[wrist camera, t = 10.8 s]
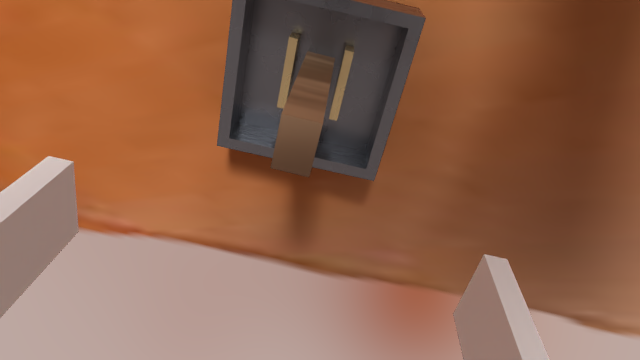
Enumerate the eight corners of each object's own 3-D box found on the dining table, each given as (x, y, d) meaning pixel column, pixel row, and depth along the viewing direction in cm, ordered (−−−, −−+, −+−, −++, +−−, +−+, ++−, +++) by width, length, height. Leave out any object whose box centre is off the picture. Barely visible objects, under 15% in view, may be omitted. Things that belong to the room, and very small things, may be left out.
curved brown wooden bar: (307, 51, 32) (281, 113, 21) (335, 58, 32) (322, 123, 21) (298, 91, 33) (270, 168, 23) (325, 97, 33) (309, 177, 23)
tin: (248, -33, 30) (235, -28, 27) (418, 8, 30) (425, 18, 27) (229, 126, 36) (216, 145, 33) (372, 158, 36) (374, 181, 33)
